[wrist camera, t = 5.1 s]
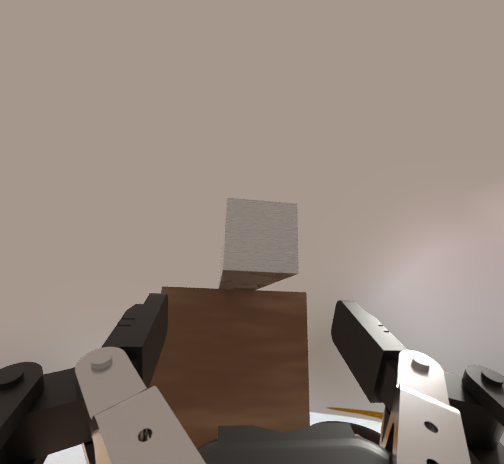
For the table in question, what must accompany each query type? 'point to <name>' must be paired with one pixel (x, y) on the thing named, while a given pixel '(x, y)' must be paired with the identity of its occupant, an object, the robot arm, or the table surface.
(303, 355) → the pedestal
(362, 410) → the table surface
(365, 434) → the casserole
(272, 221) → the bar
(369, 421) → the table surface
